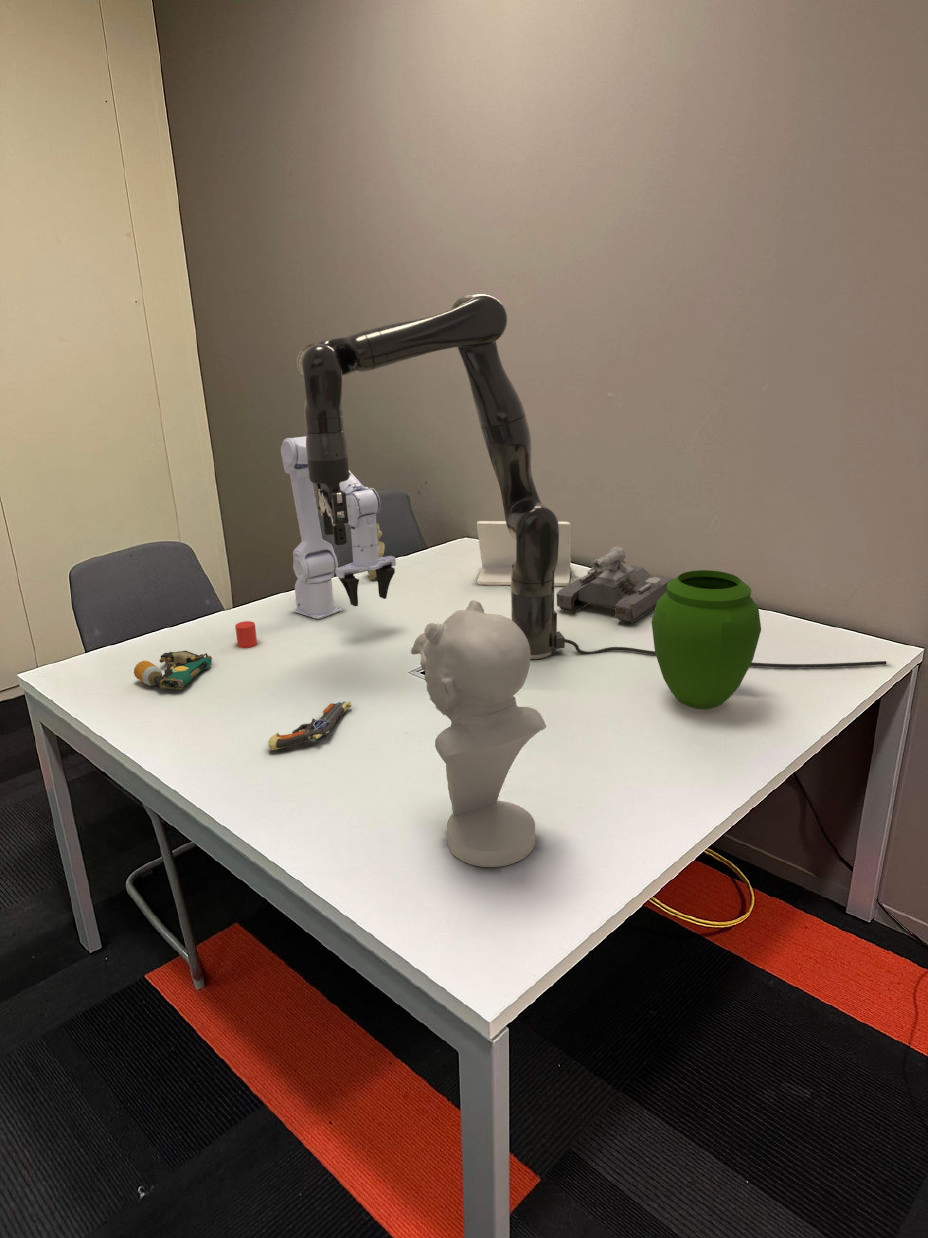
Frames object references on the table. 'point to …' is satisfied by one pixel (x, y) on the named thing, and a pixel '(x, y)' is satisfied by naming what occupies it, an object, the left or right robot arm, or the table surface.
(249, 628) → the canister
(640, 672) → the table surface
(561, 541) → the tablet stand
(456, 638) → the bust sculpture
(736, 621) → the vase
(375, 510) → the left robot arm
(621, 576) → the toy
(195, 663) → the spray gun
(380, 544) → the sculpture
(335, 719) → the toy gun
